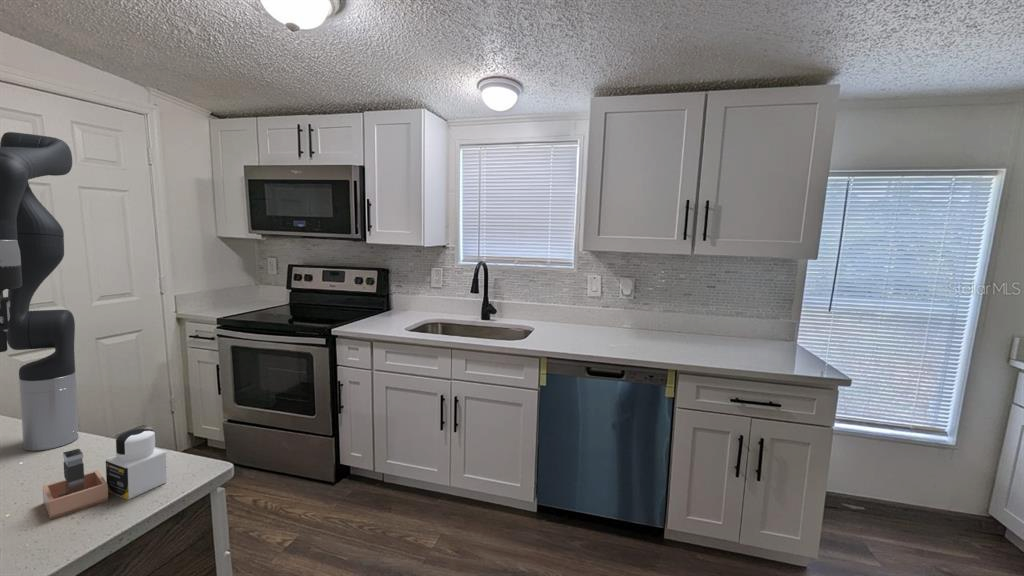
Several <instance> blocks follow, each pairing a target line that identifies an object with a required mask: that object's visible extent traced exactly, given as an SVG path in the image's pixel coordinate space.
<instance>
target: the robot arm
mask: <svg viewBox="0 0 1024 576" xmlns="http://www.w3.org/2000/svg"><path fill="white" fill-rule="evenodd" d="M72 167H73V153H72V150H71V149H70V147H69V145H68V143H66V141H64V140H62V139H61V138H60V139H59V138H57V137H53V136H47V135H40V134H32V133H31V134H30V133H23V132H15V131H8V132H5V133H3V134H2V136H1V138H0V353H4V352H7V351H8V346H9V348H11V350H13V351H27V350H28V351H29V350H38V349H40V350H42V349H54V352H53V353H51V354H50V355H47V356H45V357H42V358H40V359H37V360H34V361H30V362H28V363H26V364H25V363H24V364H23V365H21V367H20V368H19V369H18V379H19V392H20V393H19V395H20V410H21V425H22V426H21V428H22V444H23V449H24V450H25V451H29V452H30V451H34V452H35V451H44V450H51V449H54V448H55V449H56V448H59V447H62V446H65V445H68V444H70V443H73V442H75V441H76V440H77V439H79V417H78V398H77V397H78V395H77V394H78V393H77V382H76V381H77V379H76V362H75V361H76V360H75V358H76V356H75V338H76V337H75V336H76V335H75V333H76V328H75V327H76V324H75V323H76V321H75V317H74V314H73V313H72V311H70V310H68V309H41V310H40V309H39V310H30V304H31V301H32V298H33V297H34V294H35V293H36V292H37V290H38V289H39V287H40V286H41V284H42V283H44V281H45V280H46V279H47V278H48V277H49V276H50V275H51V274H52V273H53V271H55V269H56V268H57V267H58V266H59V265H60V264H61V262H62V260H63V259H64V256H65V238H64V237H65V236H64V235H65V234H64V233H65V231H64V229H63V227H62V226H61V224H60V223H59V221H58V219H56V218H55V217H54V216H53V214H51V212H50V211H49V210H48V209H47V208H46V207H45V206H44V205H43V203H41V201H39V199H38V198H37V196H36V195H35V194H34V192H33V191H32V188H31V186H30V184H29V180H31V179H35V178H41V177H47V176H55V177H56V176H57V177H58V176H64V175H65V176H66V175H67V174H69V173H70V171H71V170H72ZM5 290H7V296H4V291H5ZM73 431H74V432H73ZM77 432H78V433H77Z"/></svg>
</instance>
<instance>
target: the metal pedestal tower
mask: <svg viewBox="0 0 1024 576" xmlns="http://www.w3.org/2000/svg"><path fill="white" fill-rule="evenodd" d="M62 458H63V459H64V461H63V474H64V475H63V476H64V480H65V483H66V493H63V494H60V495H58V498H59V497H62V496H66V495H69V494H72V493H75V492H79V491H82V490H85V489H88V487H87V486H86V487H84V482H83V478H84V474H85V468H84V467H85V466H84V464H85V463H84V462H83V458H84V454H83V452H82V450H81V449H80V448H75V449H72V450H68V451H64V452H62Z"/></svg>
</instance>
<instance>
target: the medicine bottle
mask: <svg viewBox="0 0 1024 576" xmlns="http://www.w3.org/2000/svg"><path fill="white" fill-rule="evenodd" d="M115 447H116V449H115V450H116V451H115V454H116V455H113V456H110V457H107V458H106V459H105V474H106V476H105V477H106V479H105V481H106V482H107V484H108V493H111V494H113V495H116V496H117V497H121V498H123V499H125V500H127V501H129V500H131V499H133V498H135V497H137V496H140V495H143V494H144V493H146V492H149V491H151V490H154V489H155V488H157V487H159V486H160V487H161V486H162V485H164V484H165V483H167V480H168V477H167V474H168V473H167V451H164V450H162V449H159V448H156V433H155V431H154V430H153V429H150V428H137V429H131V430H127V431H125V432H123V433H121V434H120V435H119V436H117V437H116V438H115Z"/></svg>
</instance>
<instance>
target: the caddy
mask: <svg viewBox="0 0 1024 576" xmlns="http://www.w3.org/2000/svg"><path fill="white" fill-rule="evenodd" d="M83 482H84V487H86V486H87V487H88V489H85V490H82V491H79V492H75V493H72V494H69V495H66V496H62V497H59V498H58V495H60V494H63V493H66V483H65V479H62V480H59V481H58V480H57V481H55V482H52V483H48V484H46V485H42V499H43V506H44V508H45V510H46V513H47V515H48V517H49V520H51V521H52V520H55V519H57V518H60V517H63V516H66V515H68V514H72V513H75V512H78V511H81V510H84V509H87V508H90V507H92V506H95V505H98V504H101V503H102V504H103V503H105V502H108V501H109V492H108V484H107V480H106V479H105V478H104V477H103V475H102V473H101V472H100V470H98V469H97V470H93V471H90V472H86V473H84V478H83Z"/></svg>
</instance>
